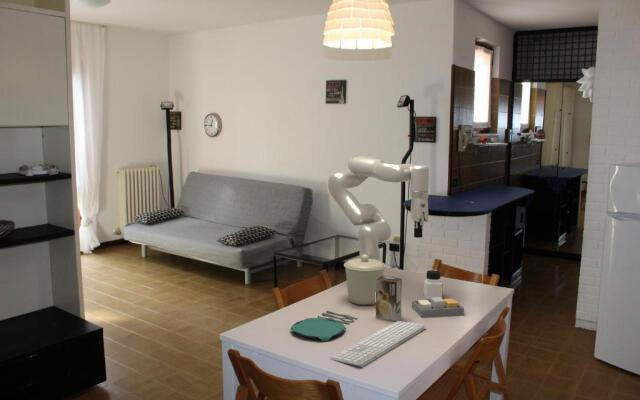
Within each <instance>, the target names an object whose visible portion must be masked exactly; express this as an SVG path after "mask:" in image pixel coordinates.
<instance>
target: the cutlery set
mask: <svg viewBox="0 0 640 400" xmlns="http://www.w3.org/2000/svg"><path fill="white" fill-rule="evenodd" d="M321 315H322V316H319V315H318V316H317V317H310V318H309V317H308V318H304V319H302V320H299V321H296V322H295V323H294V324H293V325H292V326H291V327H290V330H291V332H292V333H293V334H294V333H295V334H297V335H298V336H301V337H304V338H310V339H320V340H321V341H322V342H328V341H329V340H330V339H331V338H335V337H338V336H340V335H342V334H343V333H344V332H345V330H346V329H347V327H346V326H345V325H350V324H351V322H352V323H353V322H354V321H356V320H358V319H359V318H357V317H354V316H350V315H349V314H342V313H336V312H334V311H330V310H326V313H325V312H322V313H321ZM323 316H327V317H323Z"/></svg>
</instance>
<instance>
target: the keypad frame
mask: <svg viewBox="0 0 640 400" xmlns="http://www.w3.org/2000/svg"><path fill="white" fill-rule="evenodd" d="M427 300H428V301H429V302H430V303H431V299H427ZM411 308H412V310H413V311H414V312H415V313H416V314H417V315H418V316H419V317H420V318H435V317H455V316H456V317H457V316H464V315H465V307H464V306H462V305H461V304H460V303H458V305H457V308H449V307H447V306H446V305H445V308H439V309H436V308H435V307H434V306H433V305H432V309H422V308H421V307H420V306H419V305H418V300H412V301H411Z"/></svg>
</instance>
